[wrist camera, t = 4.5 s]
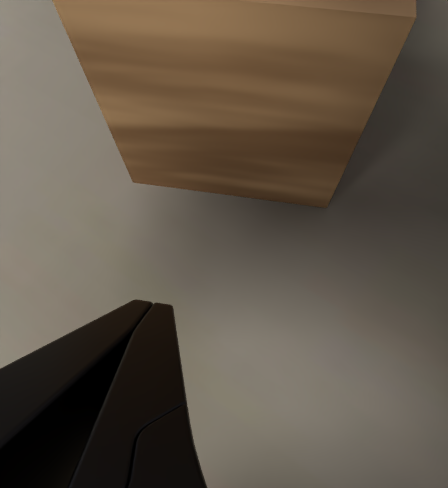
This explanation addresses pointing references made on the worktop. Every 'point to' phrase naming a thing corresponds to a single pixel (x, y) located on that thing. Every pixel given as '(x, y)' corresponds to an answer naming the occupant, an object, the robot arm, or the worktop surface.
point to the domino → (238, 87)
